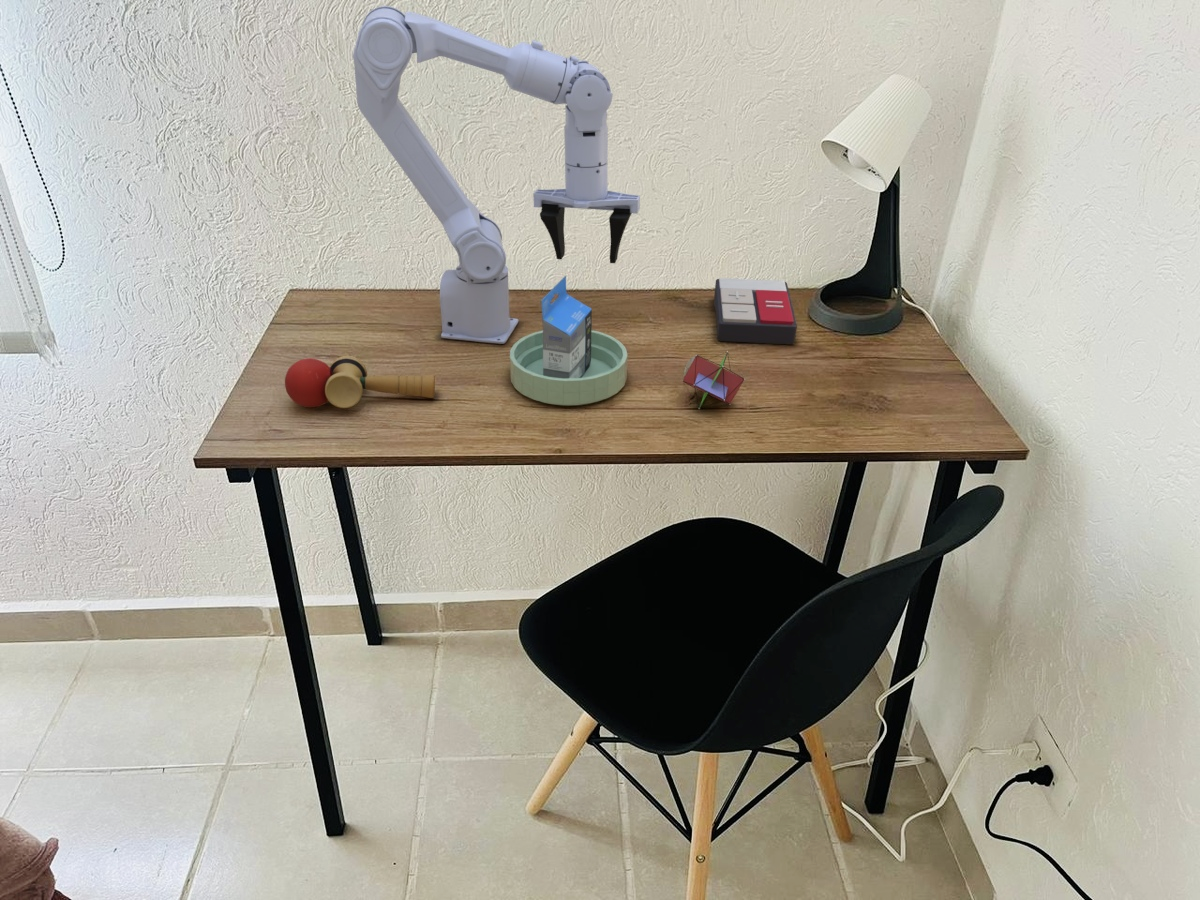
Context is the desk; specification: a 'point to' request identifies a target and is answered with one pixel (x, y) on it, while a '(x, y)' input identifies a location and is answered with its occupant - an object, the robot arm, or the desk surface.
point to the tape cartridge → (565, 334)
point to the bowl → (591, 387)
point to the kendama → (347, 382)
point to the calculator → (754, 311)
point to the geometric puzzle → (712, 379)
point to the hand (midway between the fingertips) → (587, 258)
